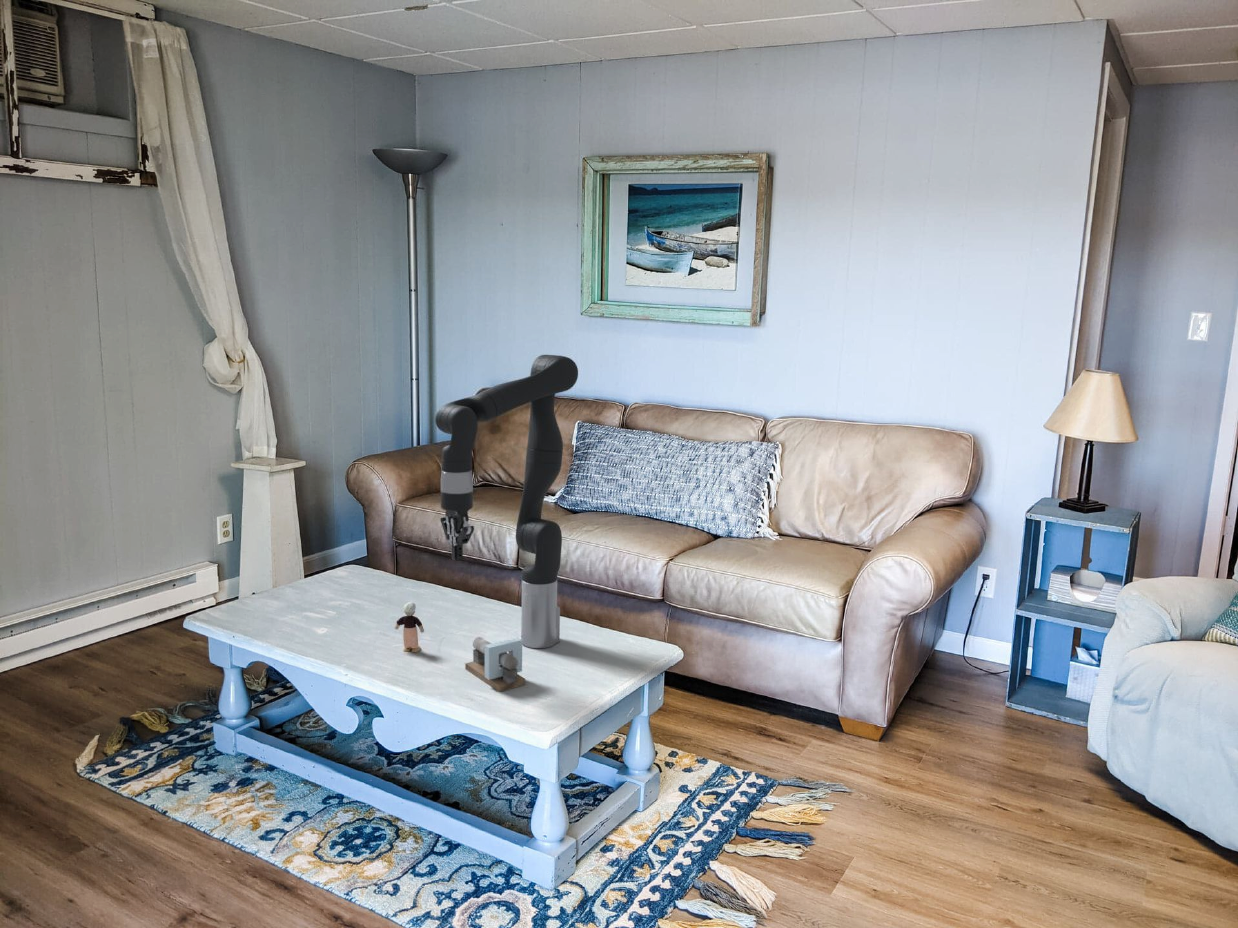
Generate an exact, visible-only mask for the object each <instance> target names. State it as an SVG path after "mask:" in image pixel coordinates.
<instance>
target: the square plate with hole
mask: <svg viewBox="0 0 1238 928" xmlns="http://www.w3.org/2000/svg"><path fill="white" fill-rule="evenodd" d="M504 652H507V653H508V654H510V655H511V656H513V657H515V658H516V659H517V660H518V665H517V667H516V669H517V673H521V672H523V644H522V640H521V638H519V637H515V638H510V639H506V640H502V641H498V642H493V643H491V644H488V645H485V678H487V679H488V680H491V679H494V678H498V677H502V676H503V668H505V667H504V666H502V665H499V654H500V653H504Z"/></svg>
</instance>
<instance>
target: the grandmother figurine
mask: <svg viewBox="0 0 1238 928" xmlns="http://www.w3.org/2000/svg"><path fill="white" fill-rule="evenodd" d="M416 609H417V607H416V604H415V602H414V601H408V602H406V603H405V604H404V606H403V607H402V610H401V611H402V612H403V613H404V614H405V615H404V616H401V617H400V618H398V620H396V622H395V623H396V624H395V625H394V629H395V630H399V628H400V627H401V626H403V628H402V629H403V633H402V634H403V635H402V637H403V638H402V639H403V652H407V653H408V652H410V651H411V652H412V653H417V652H420V651H422V648H421V646H419V635H418V629H419V632H420V633H424V632H425V629H424V626H423V623H422V621H421V620H420V619H419V618H418V617H417V616H415V613H416Z"/></svg>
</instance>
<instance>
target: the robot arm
mask: <svg viewBox="0 0 1238 928" xmlns="http://www.w3.org/2000/svg"><path fill="white" fill-rule="evenodd" d="M578 379H579V368H578V365H577V363H576V362H575V361H574V360H573V359H572V358H570V357H568V356H563V355H558V354H557V355H556V354H555V355H554V354H540V355H539V356H537V357H536V358H535V359H534V361H533V363H532V365H531V368H530V374H529V376H526V377H522V378H518V379H515V380H511V381H505V382H503V383H500V384H497V385H494V386H492V387H490V388H488V389H485V390H483V391H481V392H479V393H477V394H475V395H471V396H468V397H464V398H463V397H462V398H460V399H457V400H454V401H451V402H448V403H446V404H444V405H443V406H441V407H440V408H439V410H438V411H437V412H436V414H435V419H434V421H435V425H436V427H437V429H438V430H440V432H443V433H444V434H447V435H451V438H450V443H449V444H448V445H447V444H446V445H445V446H444V447H443V448H442V450H441V475H440V508H441V509H442V510H443V511H445V516H444V517H440V520H439V521H440V523H441V527H442V530H443V532H444V536H445V538H446V540H447V541H449V544H450V545H451V559H452V560H454V561H456V562H457V561H462V560H463V558H464V557H463V555H464V553H463V551H464V550H463V549H464V548H463V546H464V545H465V544H469V541H470V540H471V537H472V535H473V533H474V531H475V526H474V525H470V524H469V519H470V518H469V513H468V512H469V511H470V510H472V508H473V506H474V496H473V495H474V494H473V493H474V492H473V491H474V482H473V481H474V480H473V479H474V478H473V468H472V466H473V465H472V464H473V463H472V462H473V460H472V458H473V456H472V452H473V449H474V447H475V441H476V438H477V434H478V433H477V432H478V429H479V428H478V427H479V423H486V422H490V421H492V420H494V419H496V418H498V417H501V416H503V415H505V414H507V413H508V412H510V411H512V410H515V409H517V408H519V407H522V406H525V405H526V404H528V403H530V406H529V408H530V411H529V422H528V424H529V425H528V436H527V437H528V438H527V445H526V453H525V466H524V467H525V469H524V480H523V486H522V487H523V488H522V489H523V490H522V495H521V501H520V505H519V512H518V516H517V522H516V528H515V542H516V546H517V547H518V548H519V549H520V550H521V551H524V552H527V553H530V554H534V557H535V558H534V564H529V565H526V566H525V567H524V568H523V569H522V571H521V617H520V618H521V619H520V620H521V623H520V624H521V627H520V628H521V630H520V632H521V633H520V634H521V635H520V637H521V638H520V639H521V640H522V646H525V647H526V648H532V649H546V648H550V647H553V646H554V645H556V644H557V643H560V639H561V638H560V635H561V633H560V630H561V627H560V626H561V608H560V606H558V575H559V571H560V569H561V563H562V562H561V558H562V543H563V535H562V529H561V526H560V525H559V524H558V523H557V522H556V521H552V520H549V519H544V518H542V510H543V504H544V500H545V497H546V495H547V493H548V492H549V490H550V489H551V487H552V486H553V484H554V482H555V481H556V479H557V478H558V476H559V474H560V472H561V469H562V462H563V454H564V451H563V450H564V442H563V441H564V440H563V437H562V432H561V430H560V427H559V424H558V422H557V421H558V420H557V419H556V415H555V399H556V394H560V393H564V392H567V391H570V390H571V389H572V388H573V387H574V386H575V384H576V383H577V381H578Z"/></svg>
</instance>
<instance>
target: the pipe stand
mask: <svg viewBox="0 0 1238 928" xmlns="http://www.w3.org/2000/svg"><path fill="white" fill-rule="evenodd" d="M488 644H492V643H491V642H490V641H488V640H487V639H484V637H481V636H477V637H474V639H473V640H472V647H473V649H472V651H473V653H472V657H473V658H472V659H473V661H470V662H466V663H464V664H465V667H464V669H465V670H466V671H467V672H469V673H470V674H471V675H474V676H475V677H476V678H478V679H479V680H480V681H482V682H483V683H485V684H487V685H489V686H490V687H491V688H493V689H494V690H496V691H497V692H499V693H500V692H504V691H507V690H511V689H514V688H518V687H522V686H525V685H526V678H525V677H523V676H522V675H520V674H518V672H517V669H516V667H517V665H518V660H517V659H516V658H515V657H513V656H511V655H510V654H508V652H504V653H500V654H499V665H502V666H504V667H505V668H503V676H502V677H498V678H494V679H491V680H488V679H487V678H485V645H488Z"/></svg>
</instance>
